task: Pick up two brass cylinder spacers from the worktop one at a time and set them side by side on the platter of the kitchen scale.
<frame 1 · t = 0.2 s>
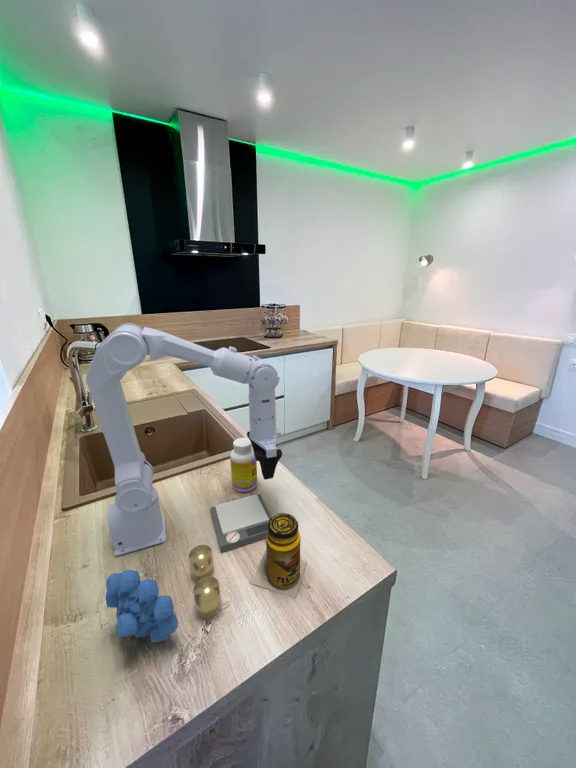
hand: (264, 468, 71), 10 cm above the counter, fingers open, 7 cm apart
spacer b: (208, 607, 51), on the counter
spacer a: (202, 572, 57), on the counter
grapes: (142, 640, 47), on the counter
scale: (242, 523, 69), on the counter
supplement bottle: (244, 485, 82), on the counter
condiment: (279, 573, 57), on the counter
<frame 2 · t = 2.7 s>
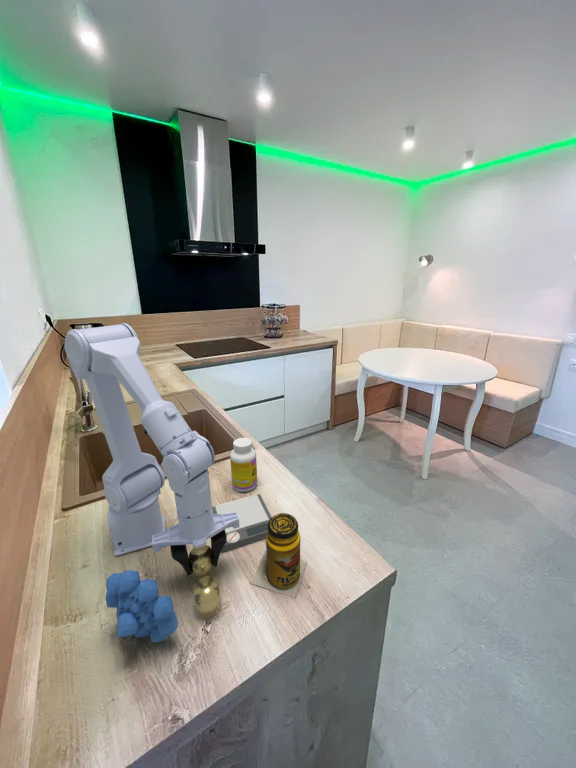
hand: (202, 566, 57), 1 cm above the counter, fingers closed on spacer a, 4 cm apart
spacer a: (202, 572, 57), on the counter, touching gripper
everything else where it was.
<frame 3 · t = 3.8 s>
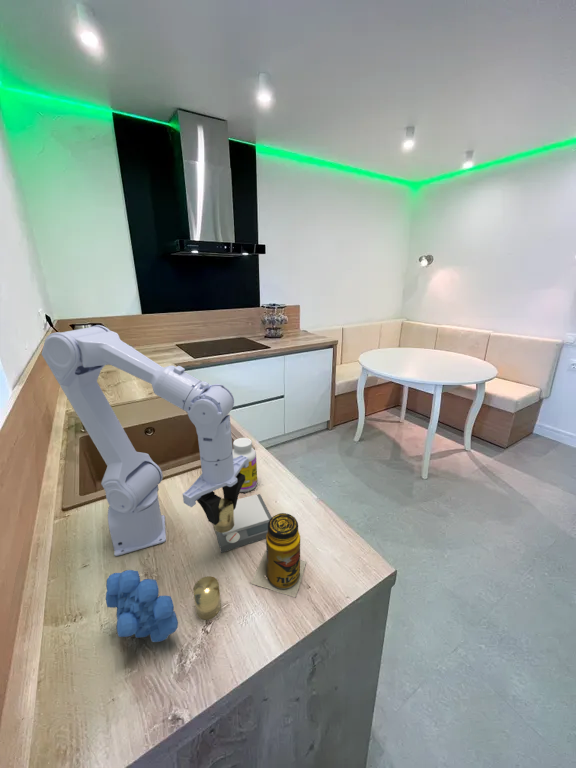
hand: (222, 514, 60), 8 cm above the counter, fingers closed on spacer a, 4 cm apart
spacer a: (224, 524, 60), point 6 cm above the counter, touching gripper
everything else where it was.
when the fingers open (5 cm above the counter, at t = 5.3 s): spacer a stays where it is, resting on scale.
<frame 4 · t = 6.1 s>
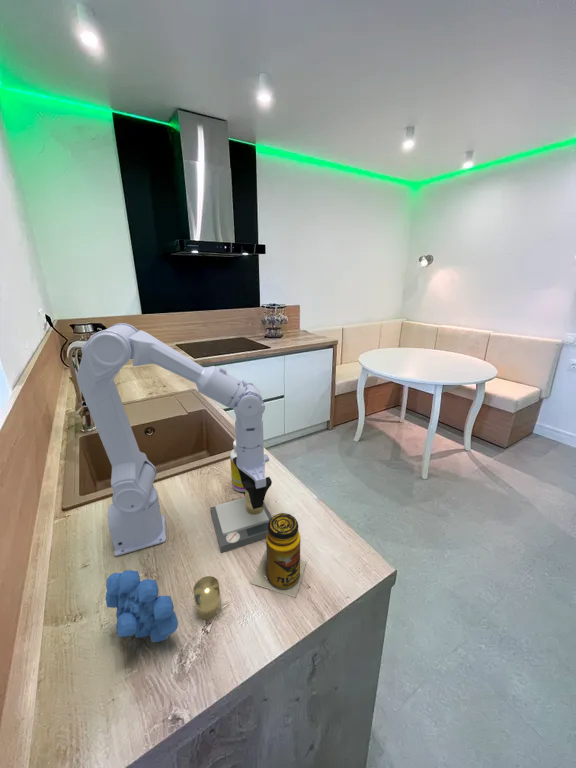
hand: (252, 495, 69), 6 cm above the counter, fingers open, 7 cm apart
spacer a: (254, 508, 70), point 2 cm above the counter, touching scale
everything else where it was.
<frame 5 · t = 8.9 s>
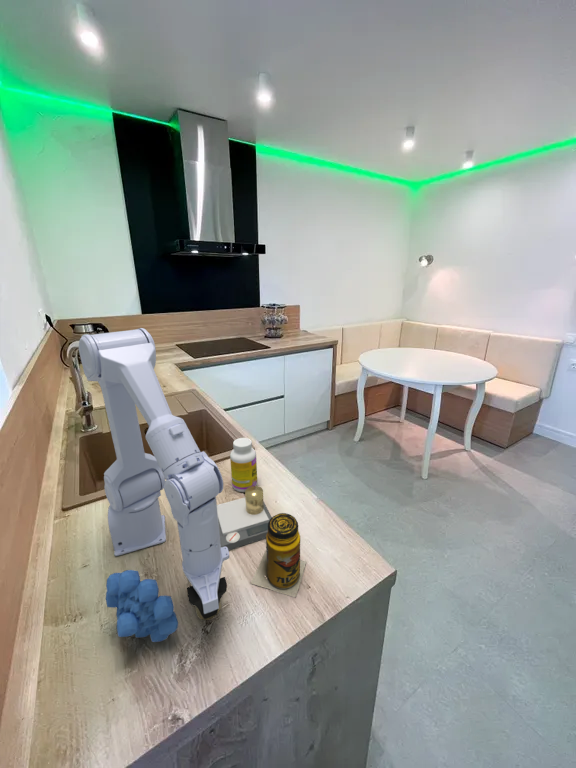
hand: (208, 601, 51), 1 cm above the counter, fingers closed on spacer b, 4 cm apart
spacer b: (208, 607, 51), on the counter, touching gripper
everything else where it was.
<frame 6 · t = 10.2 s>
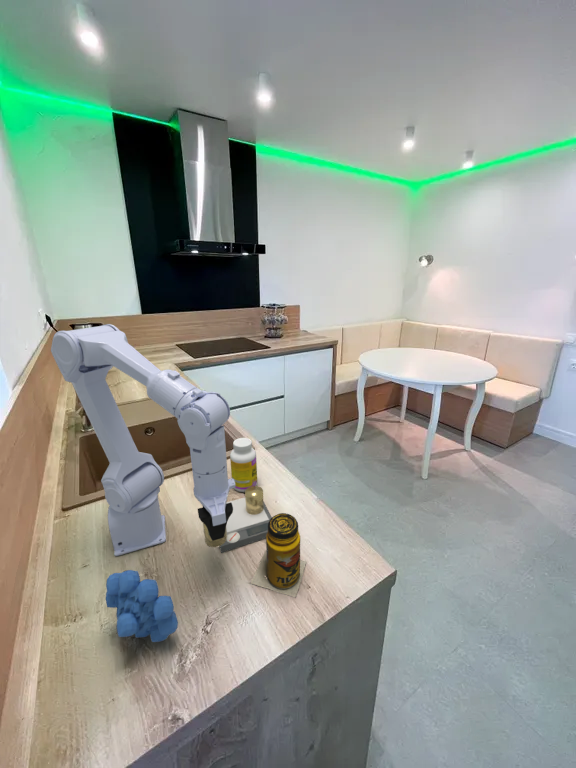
hand: (215, 528, 56), 8 cm above the counter, fingers closed on spacer b, 4 cm apart
spacer b: (216, 538, 57), point 6 cm above the counter, touching gripper
everything else where it was.
when the fingers open (5 cm above the counter, at t = 11.7 s): spacer b stays where it is, resting on scale.
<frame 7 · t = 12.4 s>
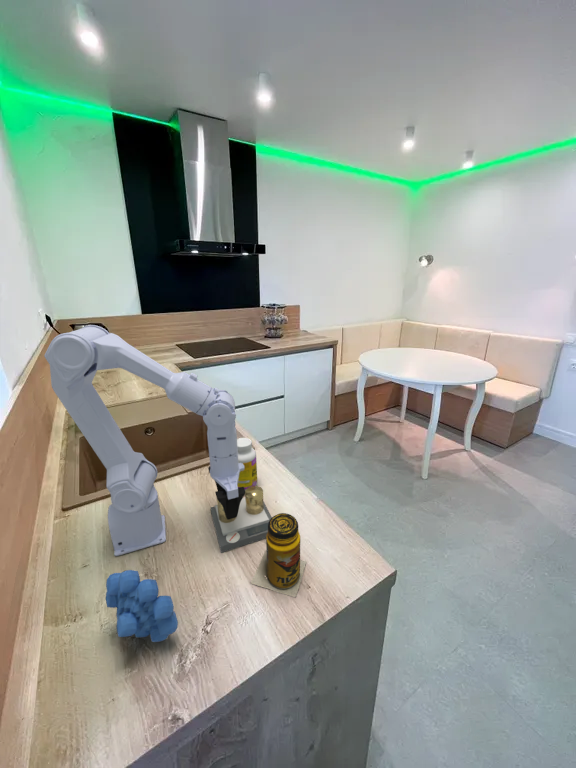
hand: (227, 505, 67), 5 cm above the counter, fingers open, 7 cm apart
spacer b: (227, 516, 68), point 2 cm above the counter, touching scale
everything else where it was.
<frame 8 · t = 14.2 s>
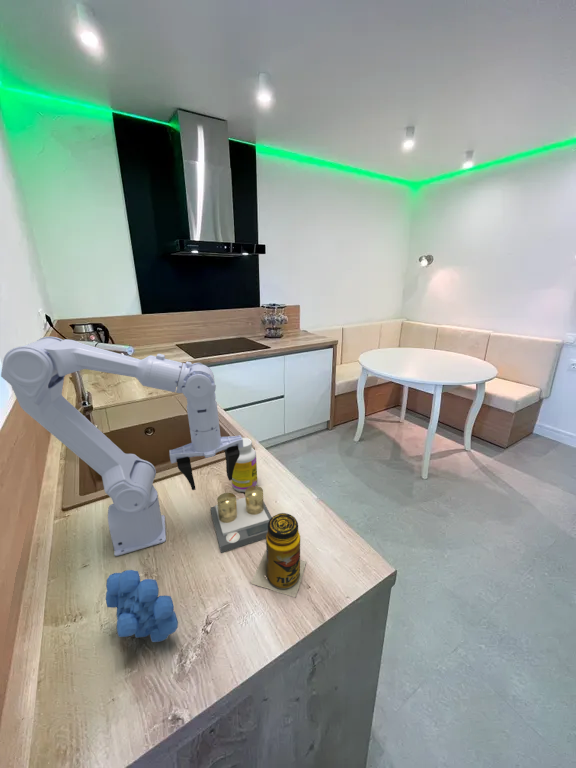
hand: (211, 482, 66), 10 cm above the counter, fingers open, 7 cm apart
nothing on the counter moved.
at the end: spacer a inside the target area on the scale (3.2 cm from its centre), point 2.2 cm above the scale's base; spacer b inside the target area on the scale (3.0 cm from its centre), point 2.2 cm above the scale's base; spacer b tilted 1° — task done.
